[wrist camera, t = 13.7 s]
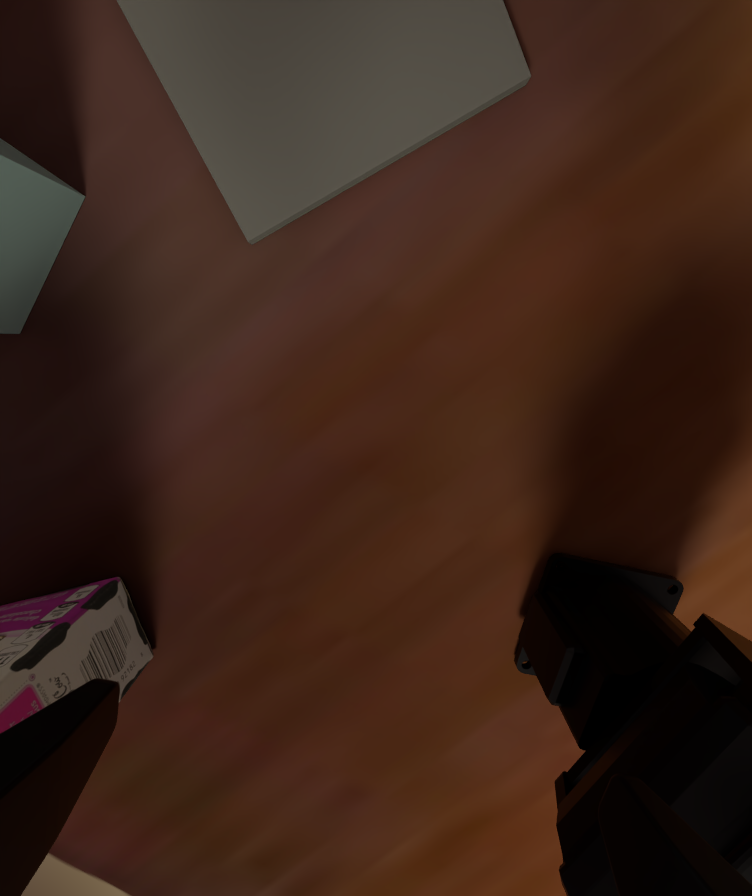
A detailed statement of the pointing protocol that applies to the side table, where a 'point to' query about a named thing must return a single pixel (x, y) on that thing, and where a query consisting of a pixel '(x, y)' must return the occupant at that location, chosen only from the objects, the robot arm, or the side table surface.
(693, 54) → the side table surface
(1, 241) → the block
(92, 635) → the candy bar box
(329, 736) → the side table surface
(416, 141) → the mat
